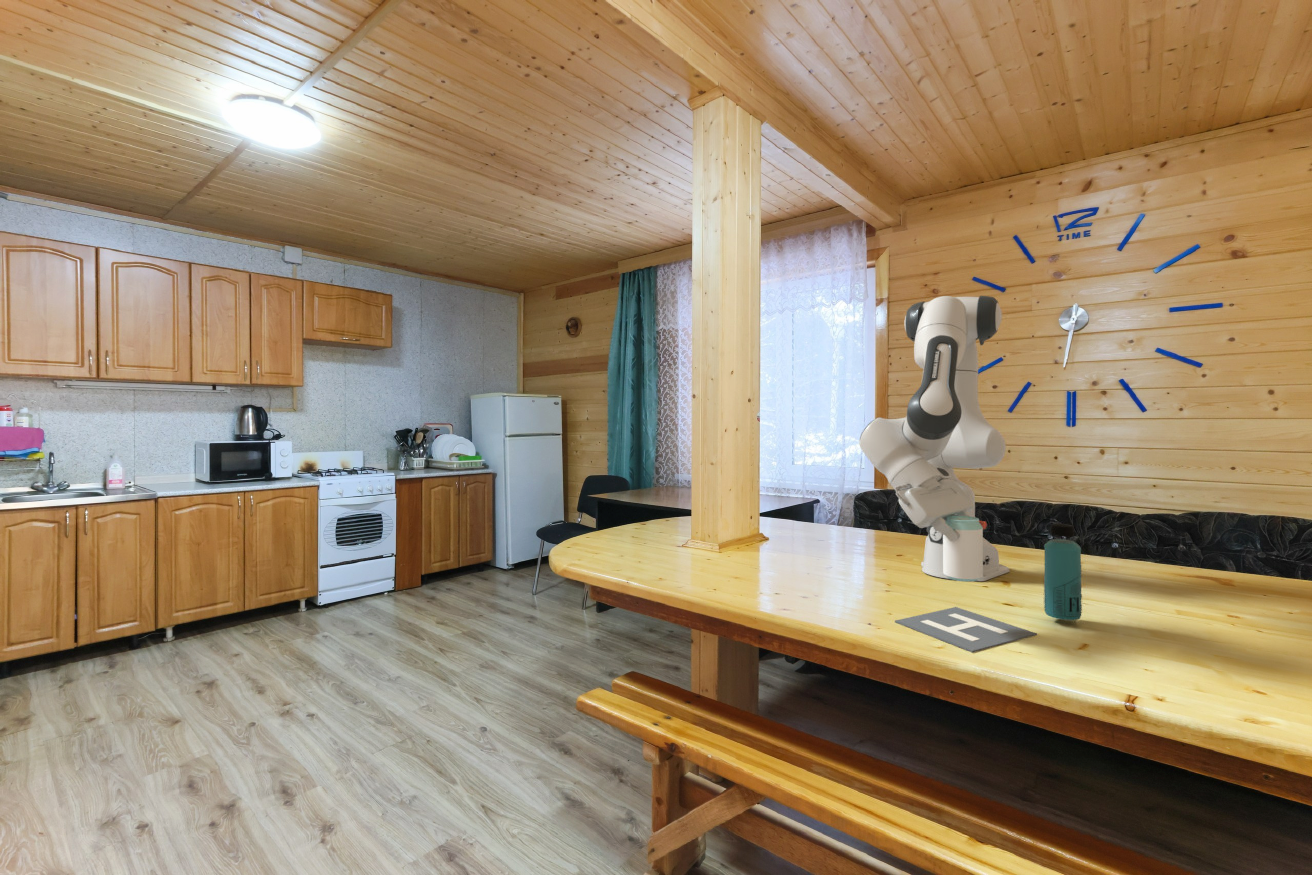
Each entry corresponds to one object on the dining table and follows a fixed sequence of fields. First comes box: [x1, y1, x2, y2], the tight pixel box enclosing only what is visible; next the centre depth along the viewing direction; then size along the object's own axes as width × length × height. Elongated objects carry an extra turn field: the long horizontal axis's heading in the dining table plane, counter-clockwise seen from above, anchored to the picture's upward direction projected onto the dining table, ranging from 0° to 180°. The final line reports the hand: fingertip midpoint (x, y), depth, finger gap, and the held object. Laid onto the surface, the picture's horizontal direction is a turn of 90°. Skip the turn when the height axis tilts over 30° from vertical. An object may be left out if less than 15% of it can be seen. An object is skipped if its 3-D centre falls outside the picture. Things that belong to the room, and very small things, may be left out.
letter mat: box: [894, 606, 1038, 653], centre depth 121 cm, size 18×18×1 cm
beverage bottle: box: [1043, 523, 1083, 621], centre depth 123 cm, size 6×7×20 cm
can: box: [943, 516, 984, 583], centre depth 121 cm, size 7×7×12 cm
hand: (965, 535), depth 120 cm, fingers closed on can, 7 cm apart
